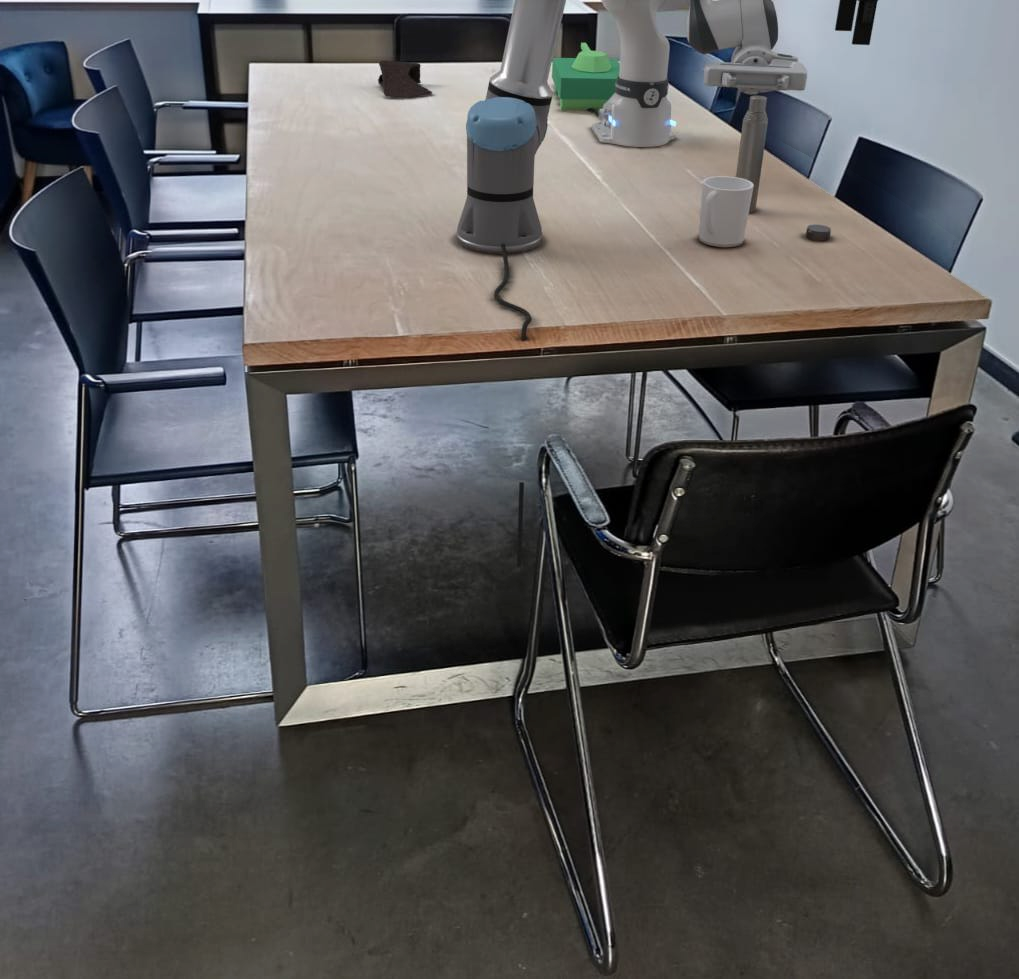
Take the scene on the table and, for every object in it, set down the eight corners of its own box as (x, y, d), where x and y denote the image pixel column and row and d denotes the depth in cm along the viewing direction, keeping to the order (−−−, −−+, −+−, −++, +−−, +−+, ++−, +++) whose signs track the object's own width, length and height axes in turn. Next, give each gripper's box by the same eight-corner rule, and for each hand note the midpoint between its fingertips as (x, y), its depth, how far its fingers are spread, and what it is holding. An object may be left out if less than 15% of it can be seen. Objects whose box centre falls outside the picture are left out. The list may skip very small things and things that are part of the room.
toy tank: (614, 39, 306) (631, 63, 276) (610, 85, 312) (627, 113, 282) (551, 38, 305) (561, 62, 275) (549, 84, 311) (559, 112, 281)
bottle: (738, 213, 212) (753, 100, 201) (727, 206, 216) (741, 95, 205) (759, 212, 213) (775, 99, 202) (748, 205, 217) (763, 94, 206)
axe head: (443, 87, 294) (392, 77, 287) (436, 115, 299) (385, 106, 292) (421, 62, 307) (371, 52, 300) (414, 89, 311) (365, 80, 304)
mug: (712, 228, 203) (718, 173, 198) (754, 239, 198) (762, 182, 193) (680, 243, 196) (686, 186, 191) (724, 254, 191) (731, 196, 186)
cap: (826, 234, 203) (828, 224, 202) (831, 241, 199) (833, 232, 198) (803, 233, 203) (805, 224, 202) (808, 241, 199) (809, 231, 198)
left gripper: (921, -102, 161) (892, 51, 172) (881, -111, 182) (857, 26, 193) (870, -103, 161) (844, 49, 172) (836, -112, 182) (815, 24, 194)
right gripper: (704, 52, 225) (704, 64, 214) (805, 56, 223) (811, 69, 211) (700, 84, 229) (700, 98, 217) (800, 89, 226) (806, 103, 215)
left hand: (851, 37), depth 183 cm, fingers open, 13 cm apart
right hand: (756, 84), depth 214 cm, fingers open, 8 cm apart
